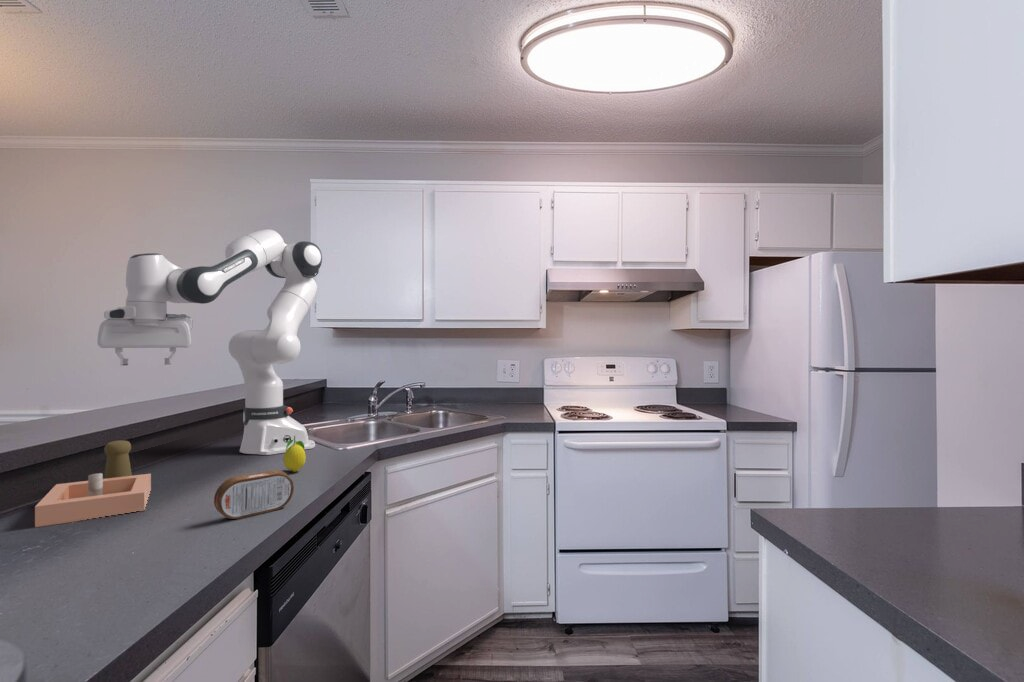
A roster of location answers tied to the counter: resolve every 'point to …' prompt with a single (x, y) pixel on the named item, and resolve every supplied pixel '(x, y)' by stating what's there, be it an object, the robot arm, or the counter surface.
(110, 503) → the pink square frame
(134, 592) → the counter surface
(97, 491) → the mushroom
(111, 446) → the cork
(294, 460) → the lemon
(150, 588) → the counter surface
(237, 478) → the tin
